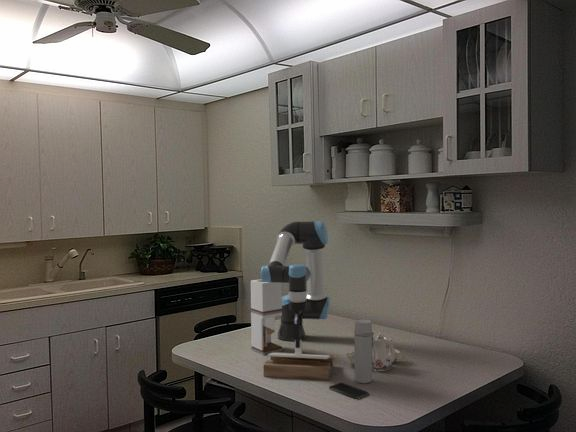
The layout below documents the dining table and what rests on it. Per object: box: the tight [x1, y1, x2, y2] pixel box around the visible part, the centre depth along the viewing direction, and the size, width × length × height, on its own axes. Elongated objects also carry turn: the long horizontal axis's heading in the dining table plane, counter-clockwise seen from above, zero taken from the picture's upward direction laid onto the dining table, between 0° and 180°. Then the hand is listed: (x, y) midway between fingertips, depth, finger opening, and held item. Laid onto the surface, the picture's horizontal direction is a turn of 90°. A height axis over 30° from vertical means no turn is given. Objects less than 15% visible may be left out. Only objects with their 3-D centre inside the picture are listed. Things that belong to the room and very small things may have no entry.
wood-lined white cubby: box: [250, 278, 283, 356], centre depth 256 cm, size 11×11×35 cm
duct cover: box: [266, 352, 330, 359], centre depth 225 cm, size 11×26×1 cm, turn 80°
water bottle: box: [353, 319, 376, 384], centre depth 213 cm, size 9×8×25 cm
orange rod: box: [281, 359, 320, 362], centre depth 229 cm, size 3×19×3 cm, turn 79°
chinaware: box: [344, 332, 404, 372], centre depth 231 cm, size 28×17×17 cm, turn 111°
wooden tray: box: [263, 351, 334, 381], centre depth 226 cm, size 18×28×5 cm, turn 79°
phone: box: [328, 382, 370, 400], centre depth 202 cm, size 8×1×15 cm
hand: (298, 354), depth 223 cm, fingers closed
